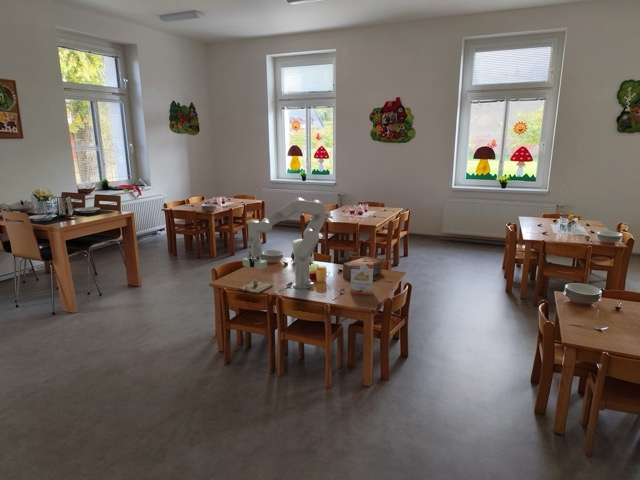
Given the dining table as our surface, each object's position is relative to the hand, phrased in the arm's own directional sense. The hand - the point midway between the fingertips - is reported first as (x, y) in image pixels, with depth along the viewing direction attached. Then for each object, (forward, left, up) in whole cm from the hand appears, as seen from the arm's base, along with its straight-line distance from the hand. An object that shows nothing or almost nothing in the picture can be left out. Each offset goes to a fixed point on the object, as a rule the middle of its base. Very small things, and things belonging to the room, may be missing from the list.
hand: (254, 265), depth 279 cm
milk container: (+1, -62, -16) cm, 64 cm away
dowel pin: (+2, +7, -14) cm, 16 cm away
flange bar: (0, 0, 0) cm, 0 cm away
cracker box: (-65, -27, -16) cm, 72 cm away
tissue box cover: (-51, -60, -16) cm, 80 cm away
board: (0, 0, -16) cm, 16 cm away
